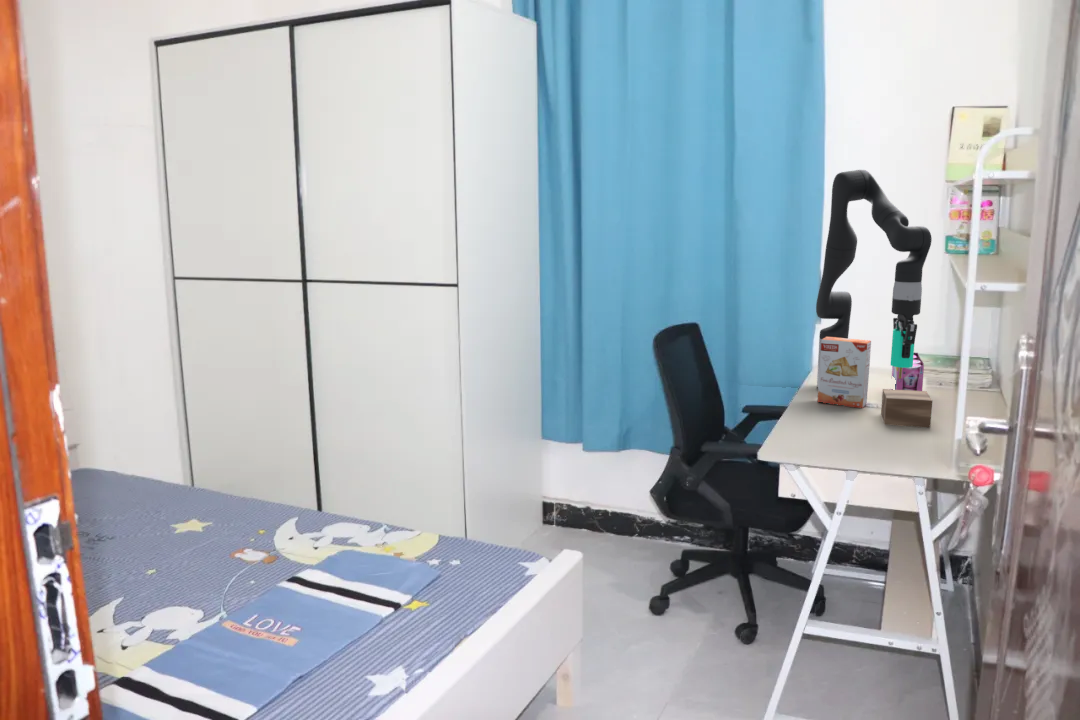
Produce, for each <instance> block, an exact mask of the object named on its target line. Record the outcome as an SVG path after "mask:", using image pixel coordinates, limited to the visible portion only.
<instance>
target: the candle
mask: <svg viewBox="0 0 1080 720" xmlns="http://www.w3.org/2000/svg"><path fill="white" fill-rule="evenodd" d="M903 333H904V334H906V331H903ZM908 340H910V337H908ZM890 352H891V353H890V366H891V367H892V366H894V367H901V368H909V367H912V366H913V355H914V353H915V343H914V344H912V345H911V350H910V357H909V358H902V337H901V331H899V329H898V331H896V329H893V330H892V340H891V351H890Z"/></svg>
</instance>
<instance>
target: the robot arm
mask: <svg viewBox="0 0 1080 720" xmlns="http://www.w3.org/2000/svg"><path fill="white" fill-rule="evenodd" d="M862 200H866V201H867V202H869V203H870V204H871V217H872V220H873V222H874V223H875V224H876V225H877V226H878V227H879V228H880V229H881V230H882V231H883V232H884V233H885V235H886V237H887V239H888V242H889V244H890V246H891V247H892V248H893V249H894V250H895V251H897V252H900V253H909V254H908V256H907V257H906V258H905V259H902V260H899V261H898V262H896V264H895V273H894V283H893V288H892V298H891V301H892V303H891V313H892V314H894V315H897V317H893V319H892V321H893V322H892V323H893V326H892V327H893V329H896V331H898V329H899V331H901V337H902V358H909V357H910V350H911V345H912V344H914V345H915V341H916V335H917V331H918V330H917V329H918V324H917V323H916V324H915V321H914V316H917V315H920V314H921V308H922V307H921V306H922V294H923V287H922V286H923V285H922V281H923V268H924V266H925V262H926V260H927V257H928V254H929V251H930V249H931V246H932V241H933V240H932V235H931V231H930V229H929V228H927V227H925V226H924V225H923V226H922V225H921V226H920V225H918V226H916V225H915V226H910V225H909V223H910V221H909V219H908V216H906V215H905V213H904V212H902V211H901V210H900V209H899V207H897V206H896V205H894V203H893V202H892V201H891V200H890V199H889V198H888V196H887V195H886V193H885V192H884V191H883V189H882V187H881V186H880V184H879V183H878V181H877V180H876V178H875V177H874V176H873V175H872V173H871V172H870V171H868V170H866V169H856V170H853V169H852V170H848V171H847V170H846V171H841V172H839V173H836V175H835V176H834V179H833V182H832V189H831V204H830V205H831V206H830V217H829V226H828V234H827V239H826V245H825V253H824V261H823V269H822V274H821V275H822V276H821V280H820V285H819V290H818V294H817V298H816V305H815V306H816V307H815V310H816V316H817V317H818V318H819V319H823V320H826V319H827V320H837V321H836V322H835V323H834V324H832V325H829V326H828V327H824V328H822V329H820V330H819V339H818V354H817V355H818V356H817V358H818V360H817V375H816V379H817V380H816V387H817V386H819V371H820V354H821V340H822V339H823V338H825V337H836V338H847V339H849V333H850V323H851V314H852V306H853V305H852V304H853V301H852V295H851V293H850V292H848V291H833V287H834V285H835V284H836V282H837V281H838V280H839V278H840V277H841V276H842V275H844V273H845V272H846V271H847V270H848V269H849V267H850V266H851V265H852V264H853V262H854V260H855V259H856V258H855V257H856V252H857V246H858V238H857V236H858V235H857V234H856V232H855V229H854V228H853V226H852V224H851V222H850V220H849V217H848V207H849V203H850V202H854V201H855V202H856V201H862ZM903 331H906V334H904V333H903ZM908 337H910V340H908Z"/></svg>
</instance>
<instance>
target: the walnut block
mask: <svg viewBox="0 0 1080 720" xmlns="http://www.w3.org/2000/svg"><path fill="white" fill-rule="evenodd" d="M880 409H881V411H880V415H881V418H882V421H883V424H884V426H899V427H900V426H903V427H905V426H906V427H914V428H916V427H918V428H919V427H920V428H931V425H932V424H931V422H932V411H933V410H932V409H933V399H932V397H931V396H930V394H929V393H928V392H927V391H926V390H922V391H912V390H893V389H891V388H890V389H889V388H882V395H881V408H880Z"/></svg>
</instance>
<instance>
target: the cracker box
mask: <svg viewBox="0 0 1080 720" xmlns="http://www.w3.org/2000/svg"><path fill="white" fill-rule="evenodd" d="M871 347H872V340H868V339H867V340H866V339H856V338H848V339H847V338H836V337H825V338H823V339H822V340H821V354H820V371H819V386H818V388H817V390H818V391H817V403H818V402H823V403H822V404H826V403H830V404H829V405H834V404H838V405H837V406H841V405H844V406H843V407H849V408H850V407H851V408H857V409H864V408H865V406H867V404H868V403H867V402H868V390H869V378H870V377H869V375H870V363H871V351H872V350H871ZM866 403H867V404H866Z"/></svg>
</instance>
